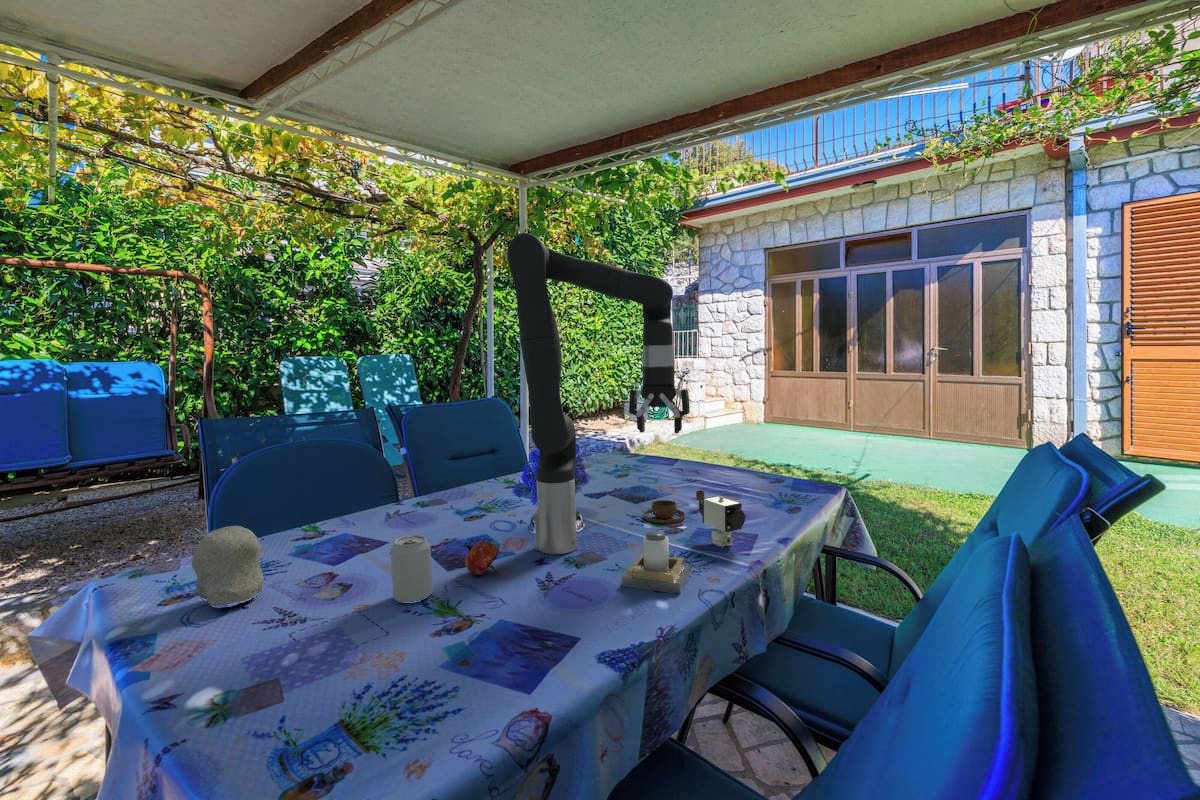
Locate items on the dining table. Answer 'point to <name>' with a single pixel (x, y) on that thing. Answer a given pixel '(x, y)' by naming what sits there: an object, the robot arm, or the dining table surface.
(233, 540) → the stone
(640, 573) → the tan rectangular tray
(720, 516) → the pneumatic valve
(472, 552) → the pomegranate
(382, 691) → the dining table surface
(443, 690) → the dining table surface
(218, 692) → the dining table surface
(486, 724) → the dining table surface
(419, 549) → the can
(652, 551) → the white plastic jar
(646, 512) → the place setting
